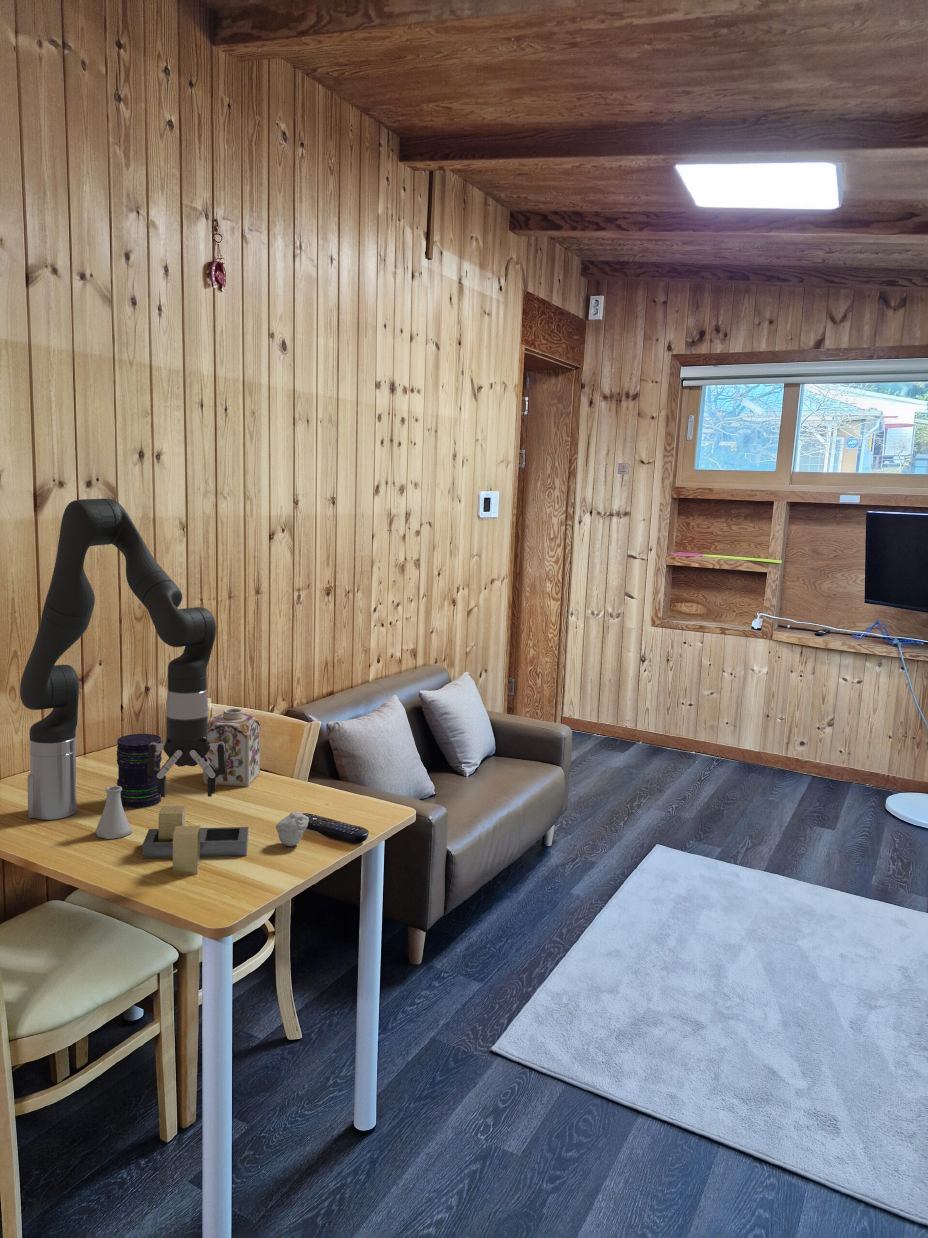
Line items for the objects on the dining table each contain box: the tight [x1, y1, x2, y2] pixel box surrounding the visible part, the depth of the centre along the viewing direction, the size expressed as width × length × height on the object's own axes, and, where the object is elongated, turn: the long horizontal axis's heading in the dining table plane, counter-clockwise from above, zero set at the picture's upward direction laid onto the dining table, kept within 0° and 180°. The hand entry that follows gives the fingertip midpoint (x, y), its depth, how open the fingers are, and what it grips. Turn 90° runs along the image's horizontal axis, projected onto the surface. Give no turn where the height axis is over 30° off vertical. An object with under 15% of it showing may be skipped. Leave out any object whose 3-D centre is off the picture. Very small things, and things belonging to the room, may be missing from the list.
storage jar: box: [116, 733, 163, 809], centre depth 209 cm, size 10×10×15 cm
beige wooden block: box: [172, 825, 201, 876], centre depth 173 cm, size 4×4×8 cm
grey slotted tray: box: [142, 826, 249, 859], centre depth 183 cm, size 20×8×3 cm, turn 101°
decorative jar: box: [202, 707, 261, 788], centre depth 228 cm, size 12×12×18 cm
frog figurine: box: [275, 811, 310, 847], centre depth 188 cm, size 6×7×7 cm
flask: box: [94, 785, 133, 840], centre depth 189 cm, size 7×7×10 cm
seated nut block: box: [158, 805, 186, 842], centre depth 182 cm, size 4×4×8 cm
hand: (186, 796), depth 172 cm, fingers open, 8 cm apart
